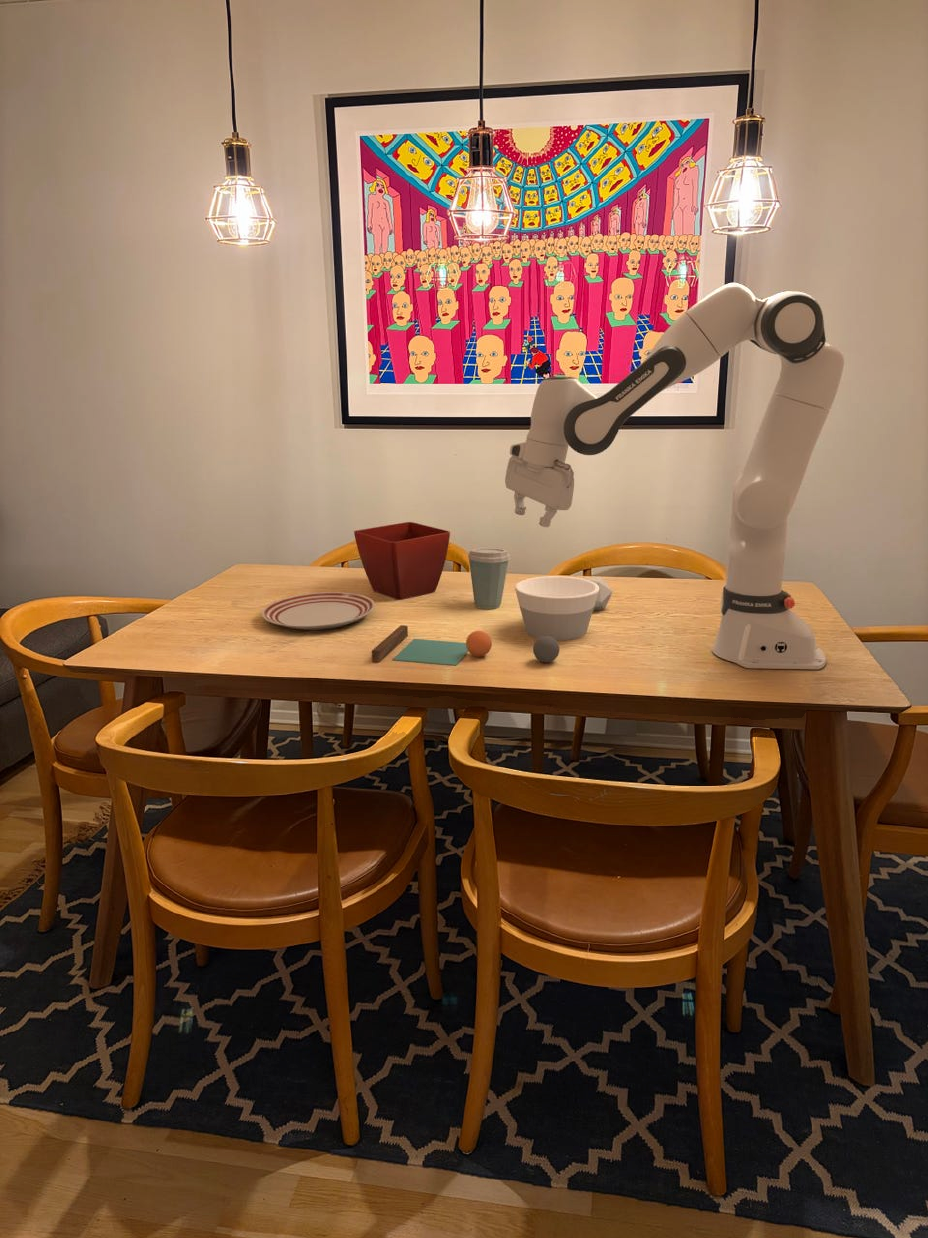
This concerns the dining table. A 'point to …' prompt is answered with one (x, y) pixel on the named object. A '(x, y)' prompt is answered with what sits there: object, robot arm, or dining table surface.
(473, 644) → the ball
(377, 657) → the rail
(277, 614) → the dinner plate
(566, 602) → the bowl
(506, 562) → the disposable coffee cup
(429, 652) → the mark
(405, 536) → the plant pot
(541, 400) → the robot arm
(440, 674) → the dining table surface
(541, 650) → the ball
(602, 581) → the die
